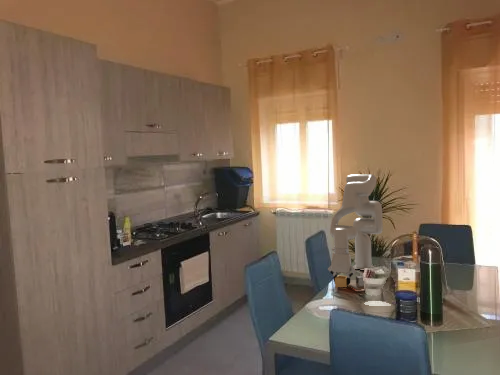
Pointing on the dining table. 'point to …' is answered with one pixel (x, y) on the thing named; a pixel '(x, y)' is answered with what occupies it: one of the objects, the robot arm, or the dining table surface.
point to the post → (359, 281)
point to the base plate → (356, 287)
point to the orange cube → (341, 281)
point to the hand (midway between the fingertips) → (342, 283)
